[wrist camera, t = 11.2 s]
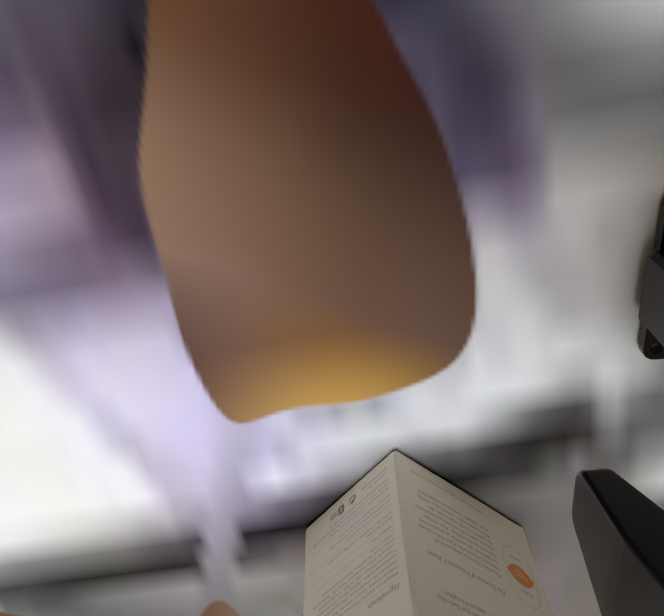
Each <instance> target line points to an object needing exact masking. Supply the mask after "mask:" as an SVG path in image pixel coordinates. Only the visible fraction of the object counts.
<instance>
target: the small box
mask: <svg viewBox="0 0 664 616" xmlns="http://www.w3.org/2000/svg"><path fill="white" fill-rule="evenodd" d="M303 616H552V614H551V611H550V608H549V605H548V602H547V599H546V596H545V593H544V590H543V587H542V584H541V581H540V578H539V575H538V572H537V569H536V567H535V564H534V561H533V558H532V555H531V552H530V549H529V545H528V542H527V539H526V536H525V533H524V530H523V529H522V528H521V527H520V526H518V525H516V524H515V523H513V522H511V521H510V520H508V519H507V518H505V517H503V516H502V515H500V514H499V513H497V512H495V511H494V510H492V509H491V508H489V507H487V506H486V505H484V504H482V503H481V502H479V501H478V500H476V499H474V498H473V497H471V496H469V495H468V494H466V493H465V492H463V491H461V490H460V489H458V488H456V487H455V486H453V485H452V484H450V483H448V482H447V481H445V480H443V479H442V478H440V477H438V476H437V475H435V474H433V473H432V472H430V471H428V470H427V469H425V468H423V467H422V466H420V465H419V464H417V463H415V462H414V461H412V460H411V459H409V458H407V457H406V456H404V455H402V454H401V453H399V452H398V451H394V452H392V453H391V454H389V455H388V456H387V457H386V458H385V459H384V460H382V461H381V462H380V463H379V464H378V465H377V466H376V467H375V468H374V469H373V470H371V471H370V472H369V473H368V474H367V475H366V476H365V477H364V478H362V479H361V480H360V481H359V482H358V483H357V484H356V485H355V486H353V487H352V488H351V489H350V490H349V491H348V492H347V493H346V494H344V495H343V496H342V497H341V498H340V499H339V500H338V501H337V502H336V503H334V504H333V505H332V506H331V507H330V508H329V509H328V510H327V511H326V512H325V513H324V514H323V515H321V516H320V517H319V518H318V519H317V520H316V521H315V522H314V523H313V524H311V525H310V526H309V527H308V528H307V530H306V545H305V581H304V607H303Z"/></svg>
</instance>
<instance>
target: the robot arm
mask: <svg viewBox="0 0 664 616" xmlns="http://www.w3.org/2000/svg"><path fill="white" fill-rule="evenodd" d="M638 317H639V319H640V320H641V322H642V324H641V330H640V336H639V342H638V346H639V349H640V350H641V352H642V353H643V354H644V355H645V357H647V358H649V359H664V198H663V200H662V203H661V207H660V213H659V220H658V226H657V232H656V238H655V244H654V250H653V252H652V253H651V254H650V256H649V257H648V259H647V265H646V271H645V278H644V284H643V290H642V296H641V303H640V309H639V316H638ZM658 342H659V343H658ZM654 343H658V345H656V346H655V347H653V348H650V347H651V346H652V345H653V344H654ZM572 518H573V523H574V527H575V531H576V534H577V537H578V540H579V544H580V547H581V550H582V553H583V557H584V560H585V563H586V566H587V569H588V573H589V576H590V579H591V582H592V586H593V589H594V592H595V595H596V598H597V602H598V605H599V608H600V611H601V614H602V616H664V510H663V509H661V508H660V507H659V506H657V505H656V504H655V503H654V502H652V501H651V500H650V499H648V498H647V497H646V496H645V495H643V494H642V493H641V492H639V491H638V490H637V489H636V488H634V487H633V486H632V485H630V484H629V483H628V482H626V481H625V480H624V479H623V478H621V477H620V476H619V475H617V474H616V473H615V472H614V471H612V470H610V469H608V468H594V469H583V470H580V471H579V472H578V473H577V475H576V480H575V489H574V497H573V506H572Z"/></svg>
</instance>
